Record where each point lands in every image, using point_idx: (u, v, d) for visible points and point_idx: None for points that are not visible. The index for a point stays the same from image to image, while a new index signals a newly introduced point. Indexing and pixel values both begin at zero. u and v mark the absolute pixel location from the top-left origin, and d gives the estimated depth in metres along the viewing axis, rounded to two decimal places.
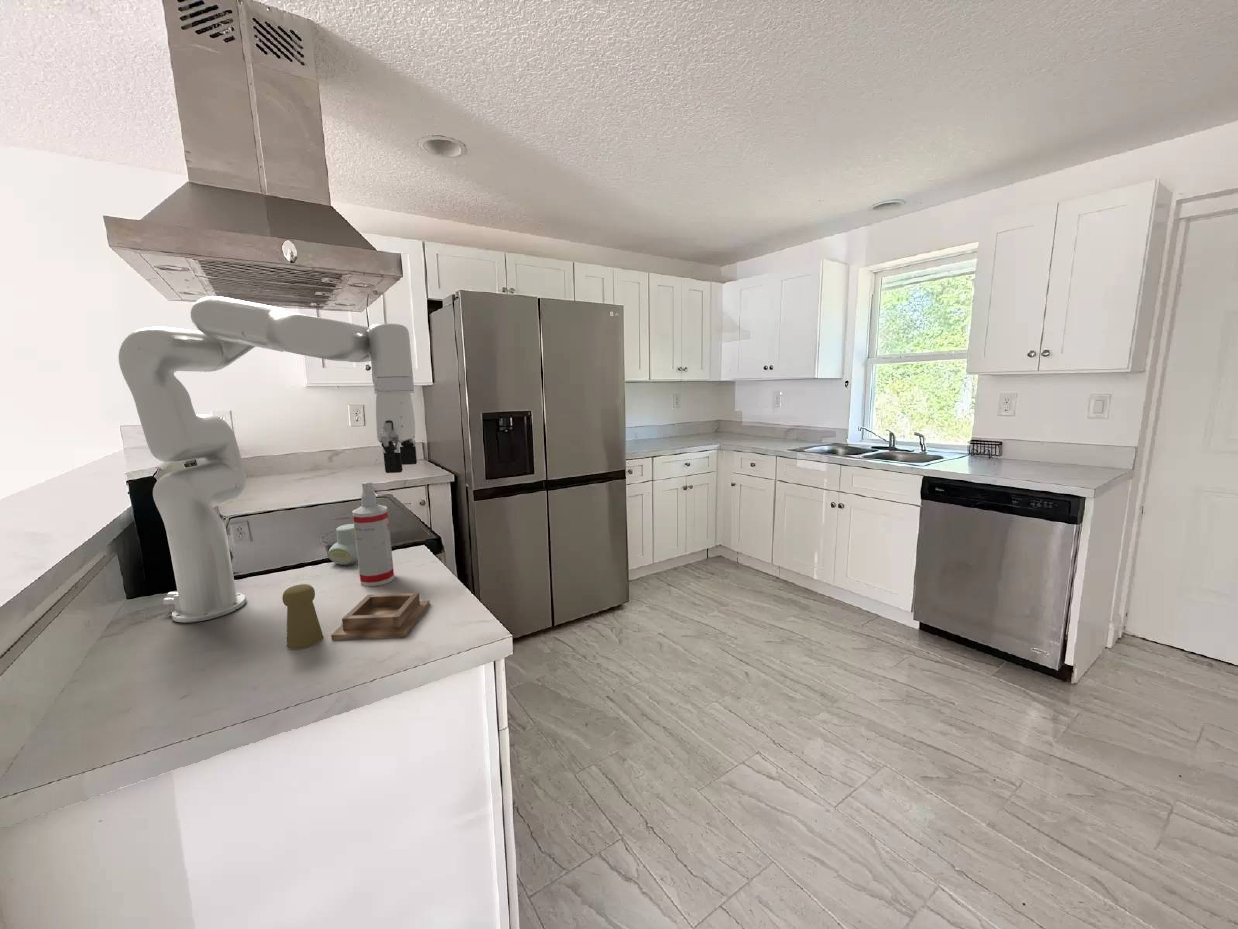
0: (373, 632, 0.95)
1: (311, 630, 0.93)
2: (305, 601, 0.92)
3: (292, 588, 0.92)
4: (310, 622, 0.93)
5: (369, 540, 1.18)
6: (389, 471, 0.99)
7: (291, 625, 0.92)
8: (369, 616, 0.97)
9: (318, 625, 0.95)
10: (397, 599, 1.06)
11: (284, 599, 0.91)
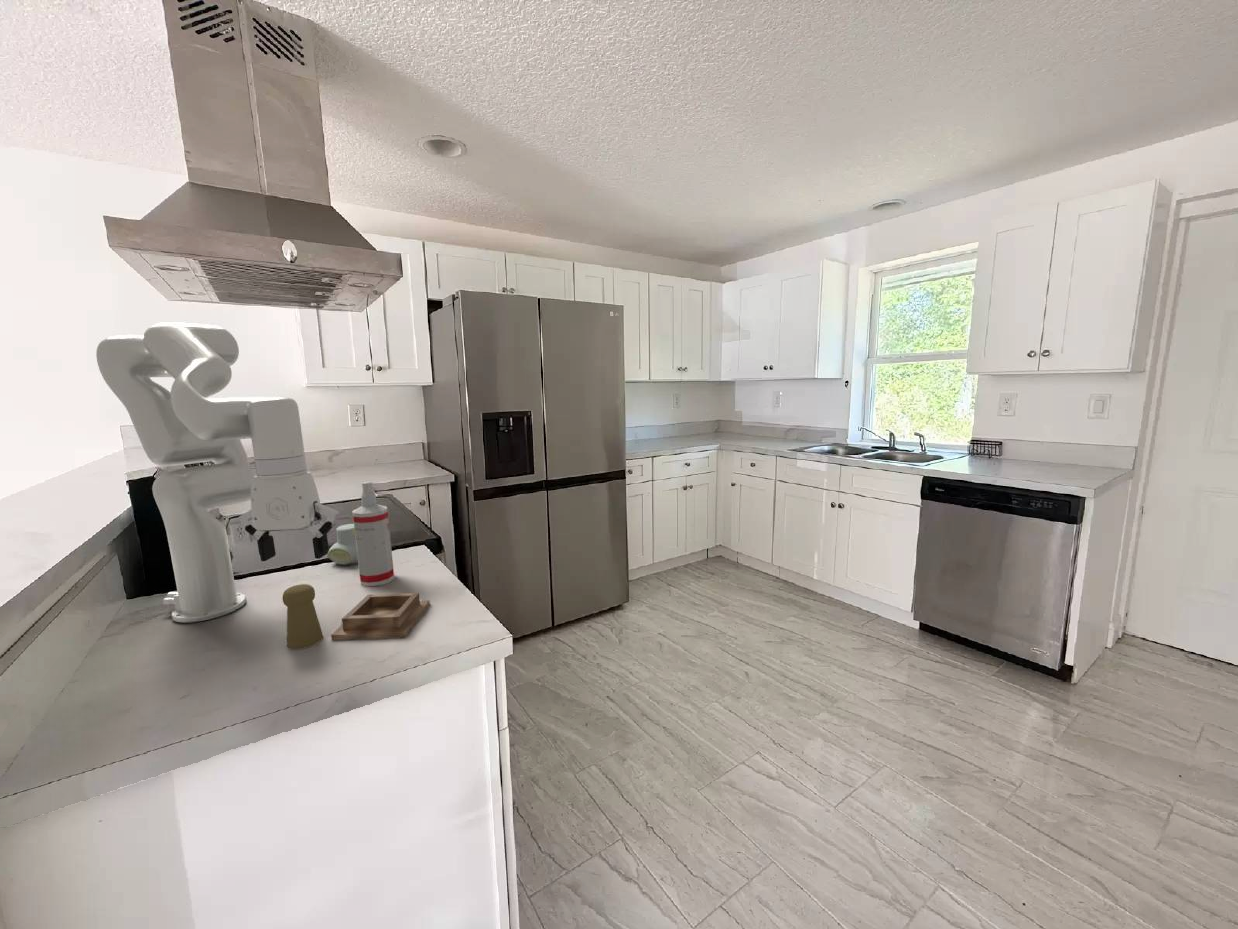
0: (373, 632, 0.95)
1: (311, 630, 0.93)
2: (305, 601, 0.92)
3: (292, 588, 0.92)
4: (310, 622, 0.93)
5: (369, 540, 1.18)
6: (320, 556, 0.91)
7: (291, 625, 0.92)
8: (369, 616, 0.97)
9: (318, 625, 0.95)
10: (397, 599, 1.06)
11: (284, 599, 0.91)
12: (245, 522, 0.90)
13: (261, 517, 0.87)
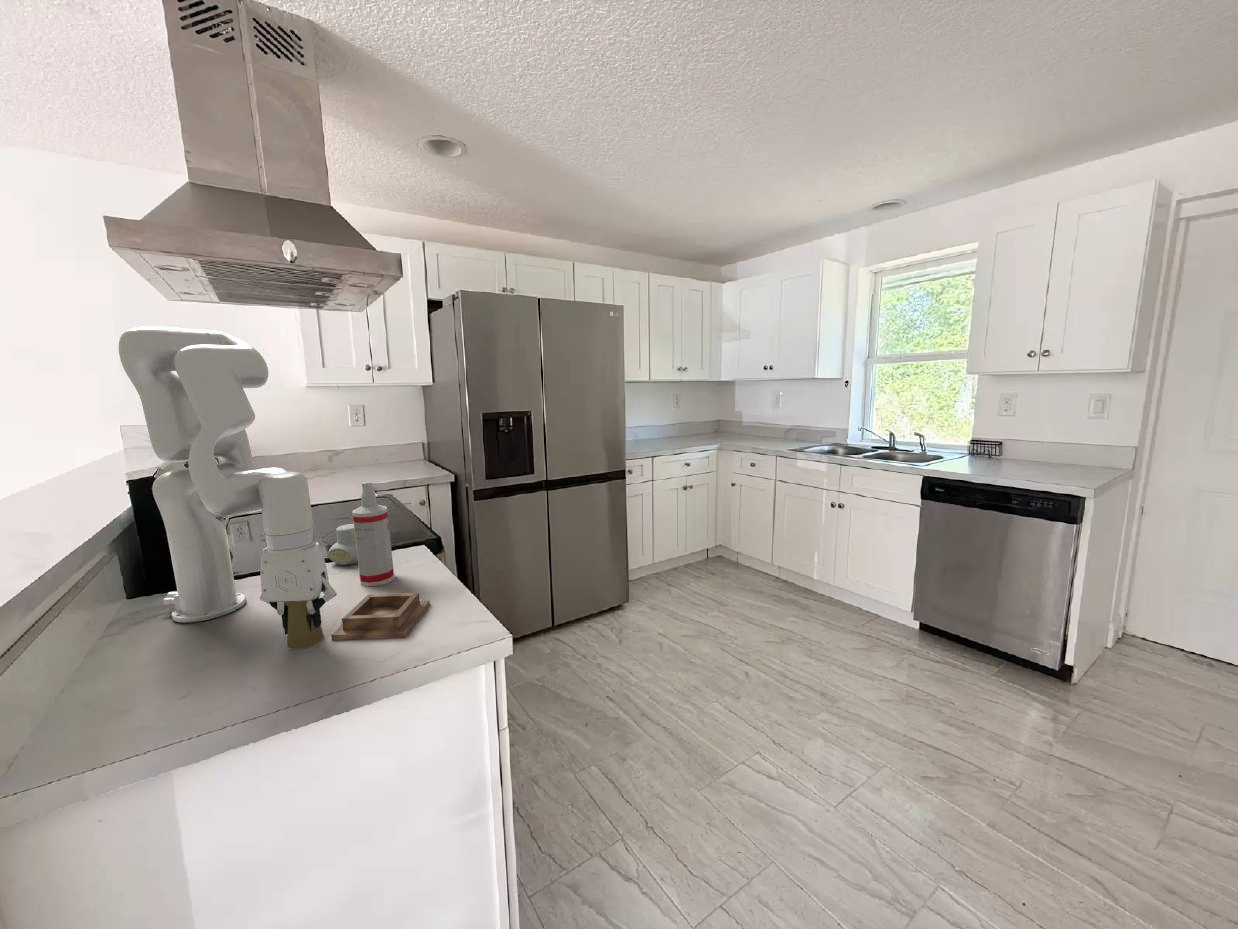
0: (373, 632, 0.95)
1: (312, 630, 0.93)
2: (306, 601, 0.92)
3: None
4: None
5: (369, 540, 1.18)
6: None
7: (292, 625, 0.92)
8: (369, 616, 0.97)
9: None
10: (397, 599, 1.06)
11: None
12: None
13: (270, 589, 0.90)
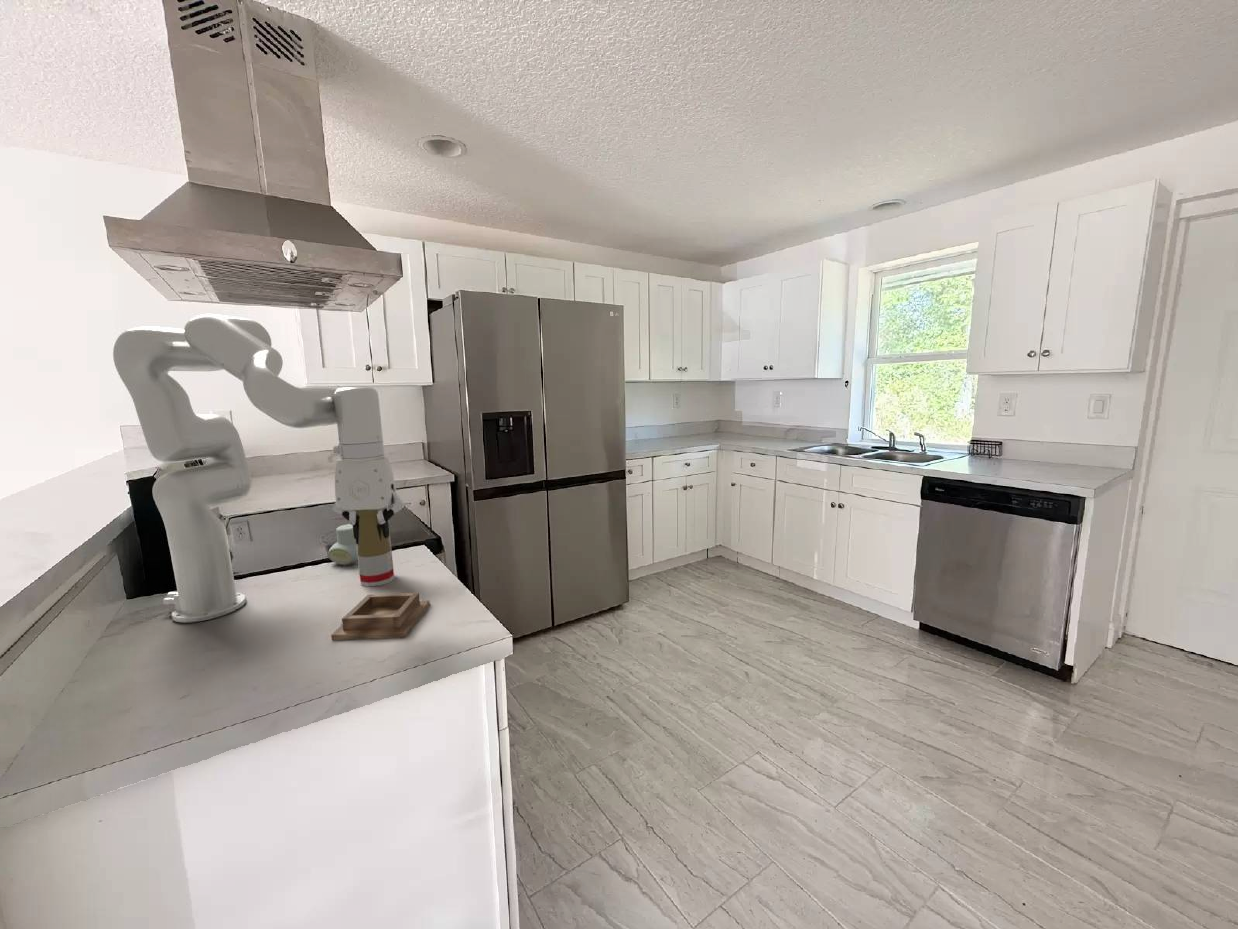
0: (373, 632, 0.95)
1: (382, 540, 0.97)
2: (376, 511, 0.96)
3: None
4: None
5: None
6: None
7: (363, 534, 0.96)
8: (369, 616, 0.97)
9: None
10: (397, 599, 1.06)
11: None
12: (340, 510, 0.97)
13: (344, 497, 0.94)
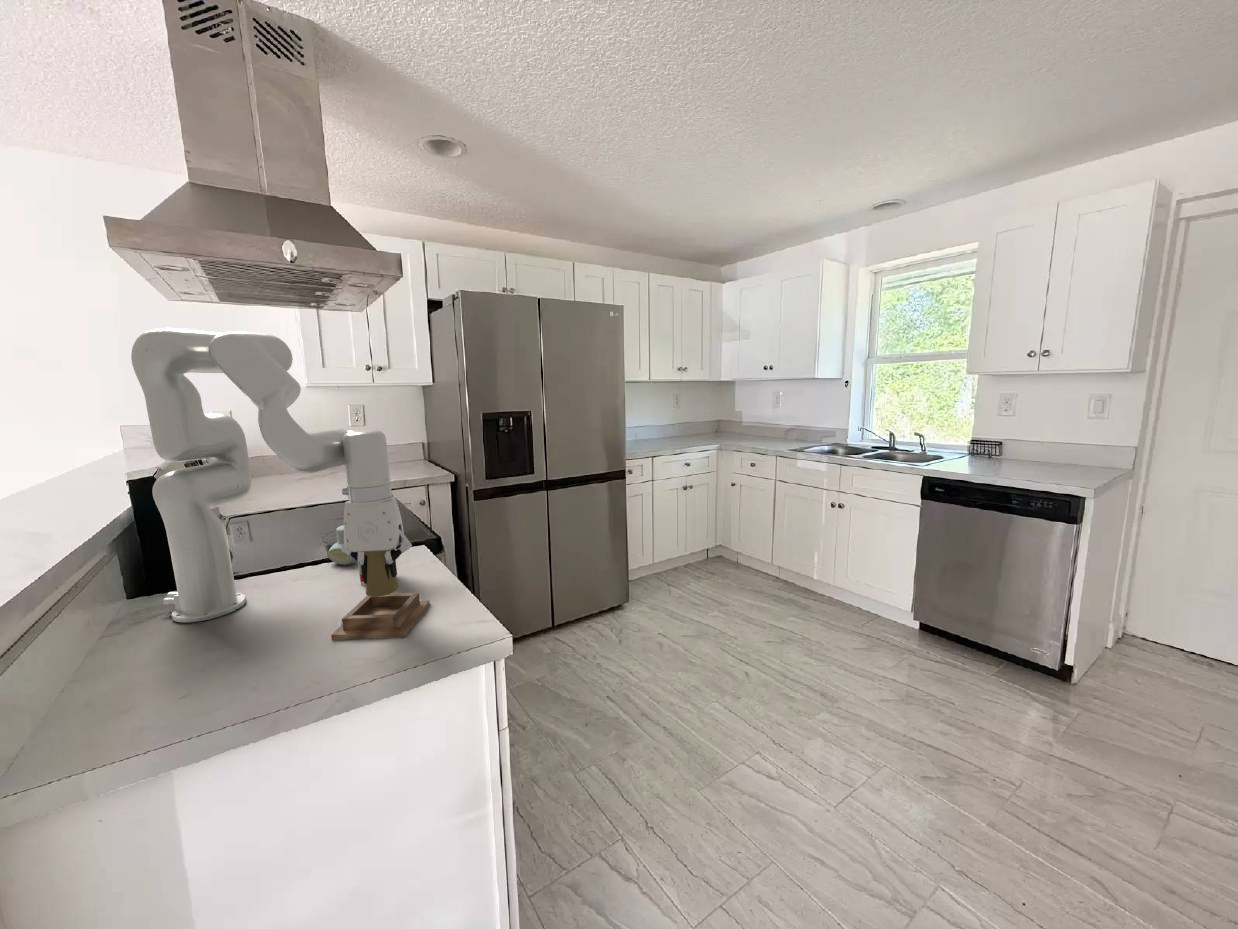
0: (373, 632, 0.95)
1: (389, 579, 0.99)
2: (384, 552, 0.98)
3: None
4: None
5: None
6: None
7: (372, 574, 0.98)
8: (369, 616, 0.97)
9: None
10: (397, 599, 1.06)
11: None
12: (348, 551, 0.99)
13: (353, 539, 0.96)
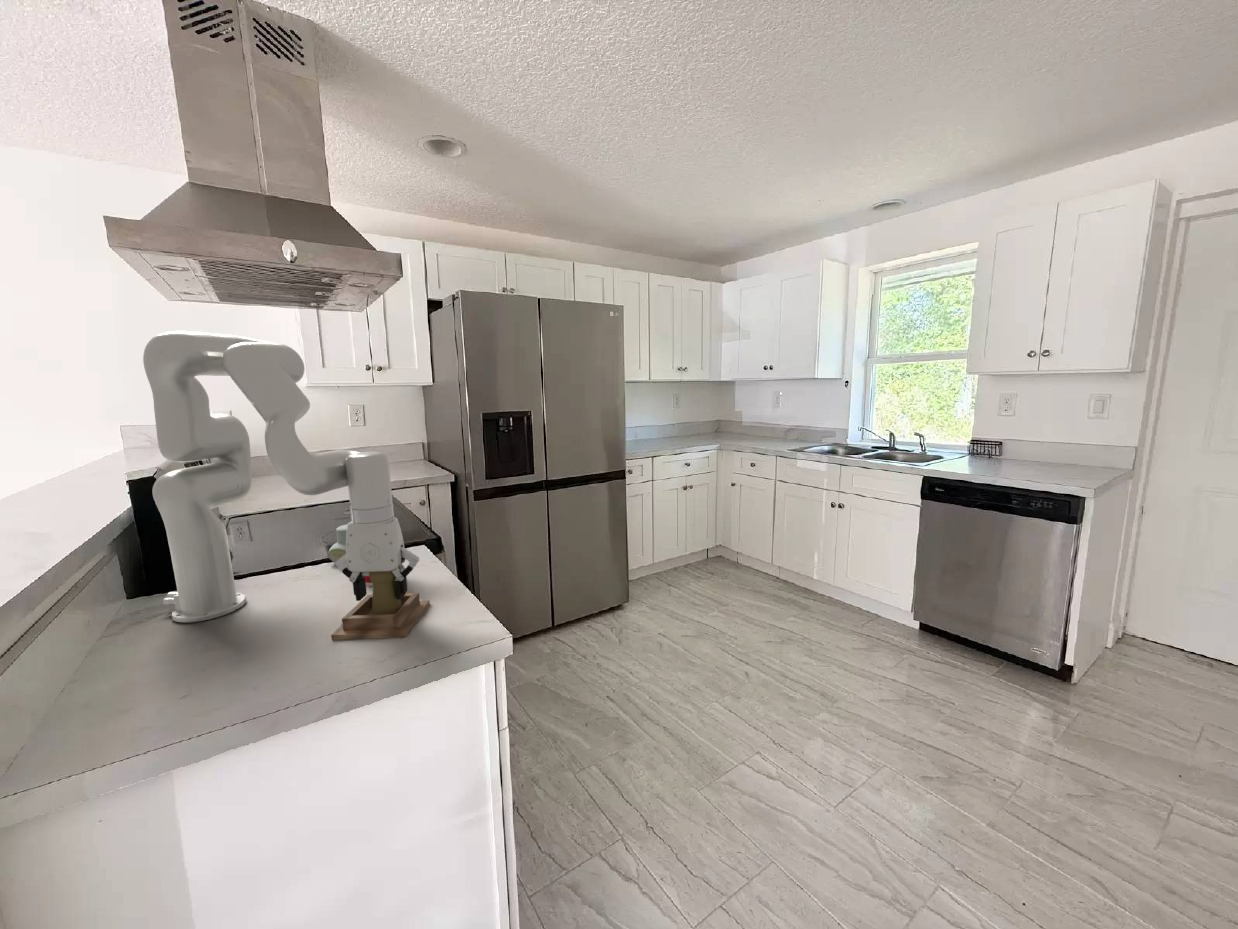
0: (373, 632, 0.95)
1: (395, 605, 1.00)
2: (391, 579, 0.99)
3: None
4: (394, 598, 1.00)
5: None
6: (401, 597, 1.00)
7: (378, 601, 0.99)
8: (369, 616, 0.97)
9: (400, 601, 1.02)
10: None
11: (372, 577, 0.98)
12: (341, 566, 0.99)
13: (355, 560, 0.97)
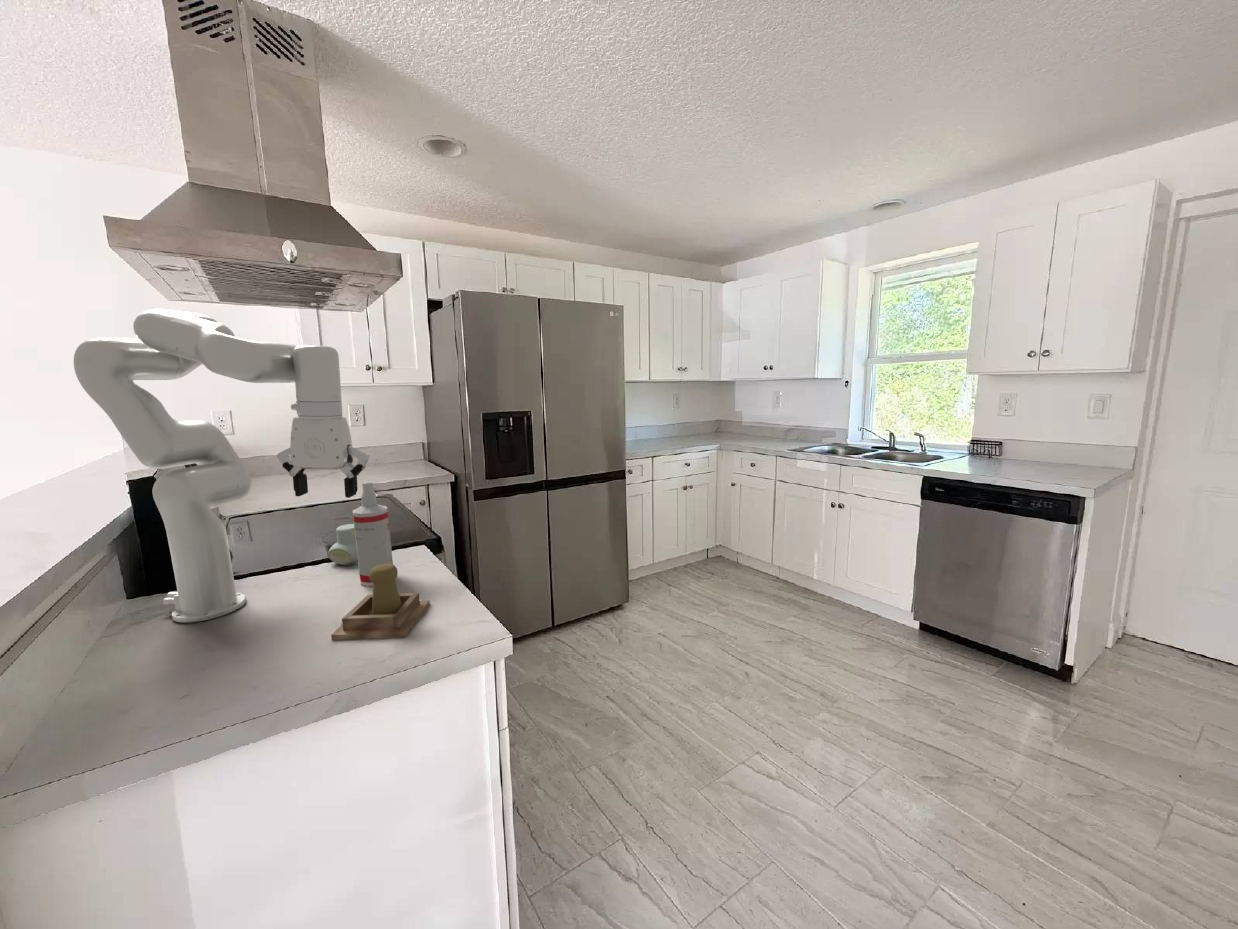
0: (373, 632, 0.95)
1: (395, 605, 1.00)
2: (391, 579, 0.99)
3: (378, 567, 0.99)
4: (394, 598, 1.00)
5: (369, 540, 1.18)
6: (350, 495, 0.99)
7: (378, 601, 0.99)
8: (369, 616, 0.97)
9: (400, 601, 1.02)
10: None
11: (372, 576, 0.98)
12: (283, 459, 0.97)
13: (299, 455, 0.95)
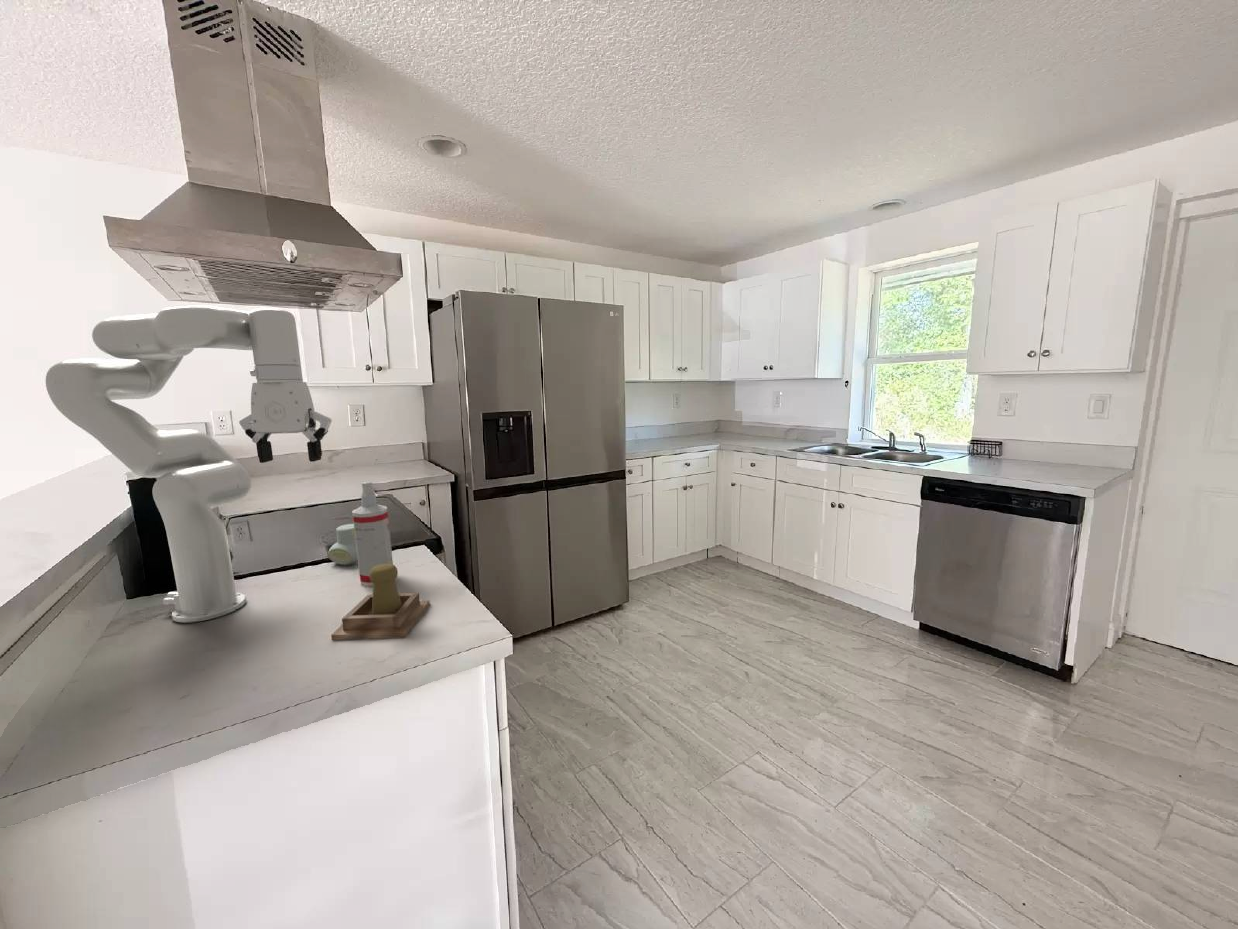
0: (373, 632, 0.95)
1: (395, 605, 1.00)
2: (391, 579, 0.99)
3: (378, 567, 0.99)
4: (394, 598, 1.00)
5: (369, 540, 1.18)
6: (314, 459, 0.99)
7: (378, 601, 0.99)
8: (369, 616, 0.97)
9: (400, 601, 1.02)
10: None
11: (372, 576, 0.98)
12: (245, 426, 0.97)
13: (260, 420, 0.95)
